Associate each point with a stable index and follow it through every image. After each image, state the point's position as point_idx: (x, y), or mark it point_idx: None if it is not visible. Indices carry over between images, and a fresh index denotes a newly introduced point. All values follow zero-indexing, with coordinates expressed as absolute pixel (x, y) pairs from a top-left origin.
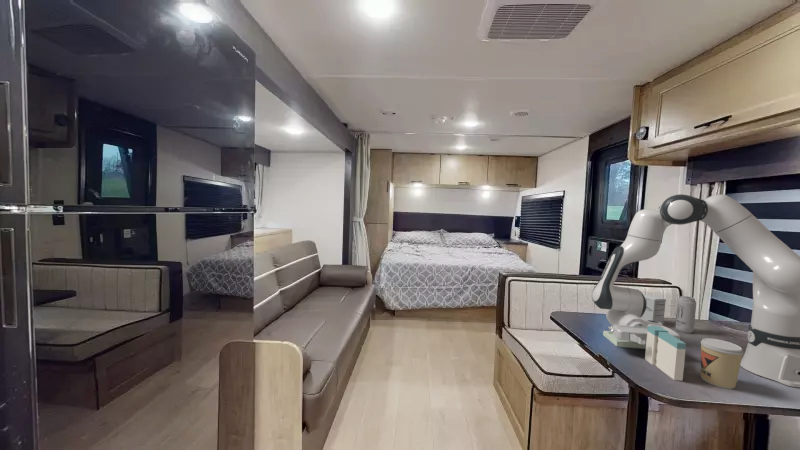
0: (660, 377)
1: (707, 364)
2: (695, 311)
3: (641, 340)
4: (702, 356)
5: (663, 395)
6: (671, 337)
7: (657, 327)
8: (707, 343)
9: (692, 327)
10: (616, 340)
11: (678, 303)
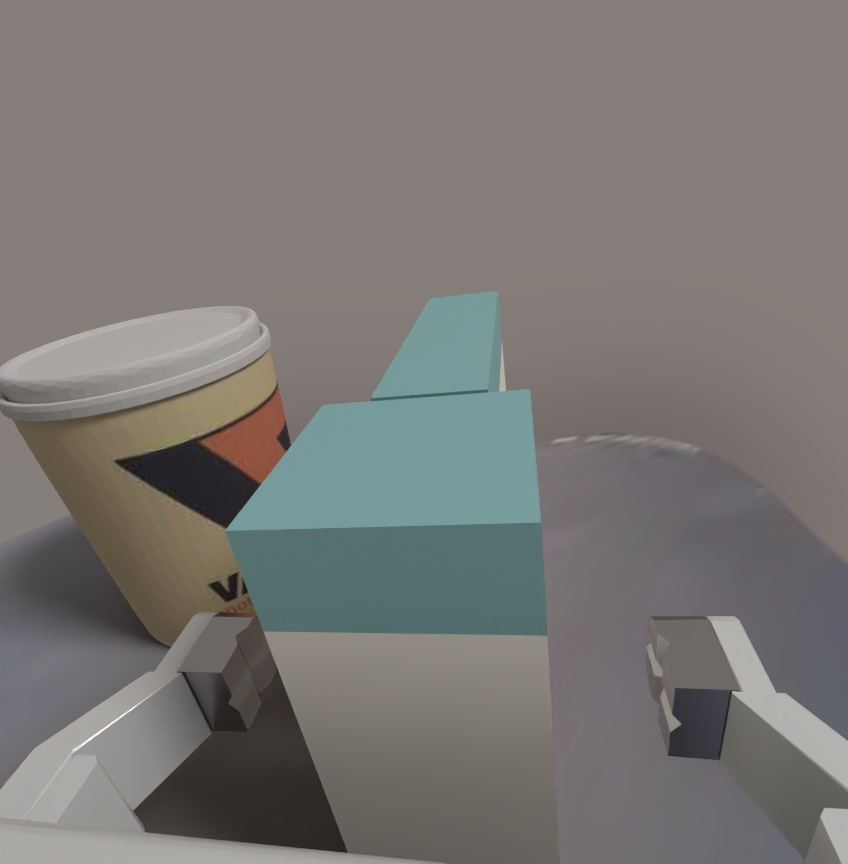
0: (598, 570)
1: None
2: None
3: (719, 616)
4: (265, 455)
5: (670, 441)
6: (456, 329)
7: (355, 483)
8: (244, 321)
9: None
10: None
11: None
